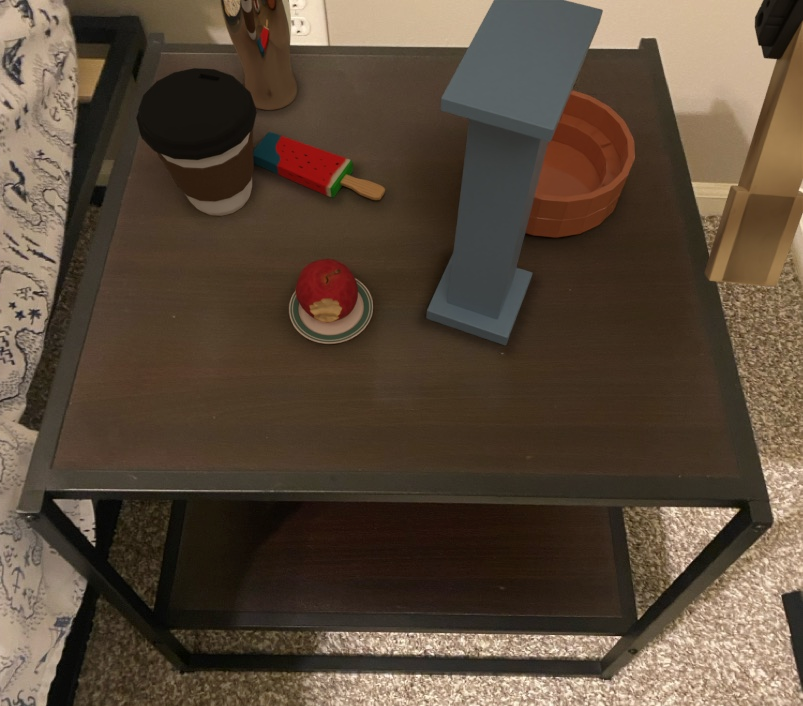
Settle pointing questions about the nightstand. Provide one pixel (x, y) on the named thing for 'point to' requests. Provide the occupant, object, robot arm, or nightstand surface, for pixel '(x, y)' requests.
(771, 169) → the stick
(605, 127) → the bowl
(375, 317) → the nightstand surface
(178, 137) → the coffee cup
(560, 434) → the nightstand surface
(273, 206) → the nightstand surface
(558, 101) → the stand
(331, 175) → the popsicle
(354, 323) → the apple
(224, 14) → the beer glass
